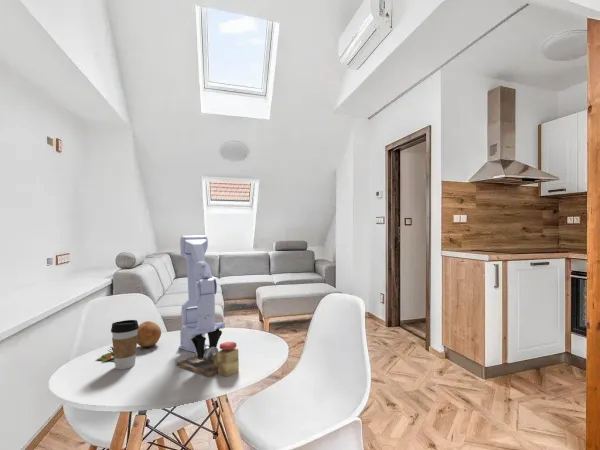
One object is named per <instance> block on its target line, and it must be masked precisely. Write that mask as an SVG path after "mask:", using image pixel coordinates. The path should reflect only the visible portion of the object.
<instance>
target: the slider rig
mask: <svg viewBox="0 0 600 450" xmlns="http://www.w3.org/2000/svg"><path fill="white" fill-rule="evenodd" d="M219 349H220V350H218V353H217V354H216V355H215V357H214V361H213V363H209V362H207V361H206V360H199V359H197V358H196V356H195V354H194V355H192V356H189V357H187V358H184V359H182V360H179V361H177V362H175V364H176V366H177V367H180V368H183V369H185V370H189V371H191V372H194V373H197V374H200V375H203V376H206V377H209V378H211V377H213V376H215V375H216V374H218V375H220V376H223V377H225V378H226V377H229V376H232V375H233V374H236V373H238V372H239V369H240V368H239V365H240V364H239V362H240V361H239V348H237V343H236V342H235V341H226V342H222V343H220V344H219Z"/></svg>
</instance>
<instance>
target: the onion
mask: <svg viewBox="0 0 600 450" xmlns="http://www.w3.org/2000/svg"><path fill="white" fill-rule="evenodd" d="M138 325H139V328H138V329H137V334H138V337H137V345H138V346H140V347H142V348H148V347H153V346H155V345H156V344H157V343H158V342H159V340H160V338H161V336H162V329H161V327H160V326H159V324H157V323H156V322H154V321H150V320H148V321H143V322H142V323H140V324H138Z"/></svg>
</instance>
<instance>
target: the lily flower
mask: <svg viewBox="0 0 600 450" xmlns="http://www.w3.org/2000/svg"><path fill="white" fill-rule="evenodd" d="M107 352H108V353H104V354H103V355H101V357H98V358H97V359H96V361H100V360H102V363H105V362H106V361H112V362H115V358H112V357H114V350H113V346H109V349H108V350H107Z"/></svg>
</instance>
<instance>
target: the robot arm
mask: <svg viewBox="0 0 600 450" xmlns="http://www.w3.org/2000/svg"><path fill="white" fill-rule="evenodd" d="M179 239H180V240H179V242H180V243H179V246H180V255H181V258H184V259H185V261H186V270H187V292H188V293H187V294H188V299H187V301H185V302H184V303H183V304H182V306H181V311H180V320H181V324H182V326H181V329H180V337H179V338H180V340H179V341H180V346H178V348H179V349H182V350H185V351H188V352H191V353H195V351H197V355H198V357H200V358H203V357H204V345H205V344H206V345H207V346H209V347H212V346H213V347H216V348H218V344H219V340H220V338H221V335H222V334H223V331H222V330H223V329H225V328H226V326H225V324H226V323H225V321H220V322H216V306H215V305H216V303H215V302H216V299H215V298H216V296H215V295H216V294H217V293H218V292H217V291H218V290H217V289H218V286H217V285H218V284H217V279H216V277H215V276H214V275H212V271H211V268H210V263H208V262H206V259H205V255H206V253H207V251H208V246H209V241H208V236H207V235H206V234H202V235H182V236H181V237H180V238H179ZM221 329H222V330H221ZM206 334H207V337H208V343H206V340H207V337H206Z"/></svg>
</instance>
